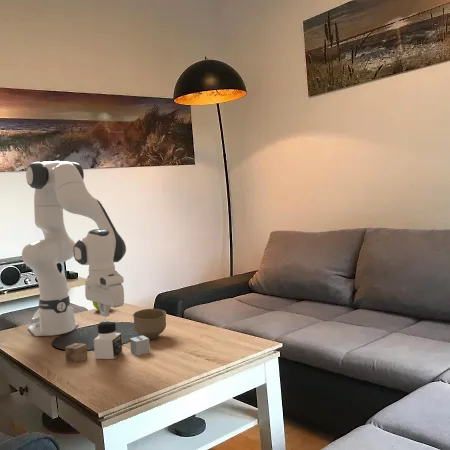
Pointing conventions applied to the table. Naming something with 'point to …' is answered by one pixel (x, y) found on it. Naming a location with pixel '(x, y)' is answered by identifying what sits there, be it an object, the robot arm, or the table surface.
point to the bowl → (150, 322)
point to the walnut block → (76, 352)
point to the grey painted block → (139, 345)
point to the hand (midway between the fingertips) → (105, 315)
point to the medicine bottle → (107, 341)
